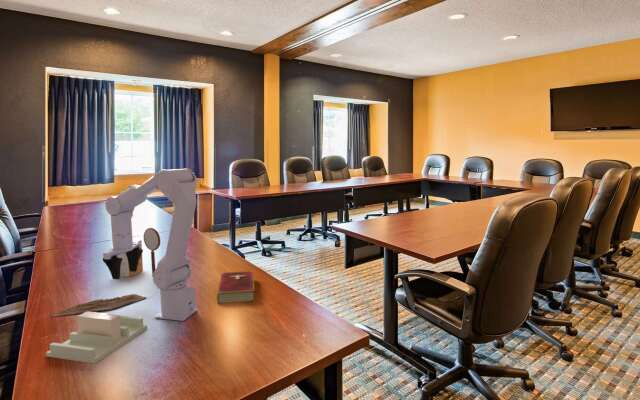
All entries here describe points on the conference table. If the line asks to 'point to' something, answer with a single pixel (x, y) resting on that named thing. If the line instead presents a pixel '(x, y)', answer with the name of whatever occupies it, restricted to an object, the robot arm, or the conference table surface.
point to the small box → (125, 266)
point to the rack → (96, 342)
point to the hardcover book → (236, 287)
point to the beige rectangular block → (99, 324)
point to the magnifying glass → (152, 243)
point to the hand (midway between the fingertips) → (125, 275)
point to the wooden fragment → (101, 304)
